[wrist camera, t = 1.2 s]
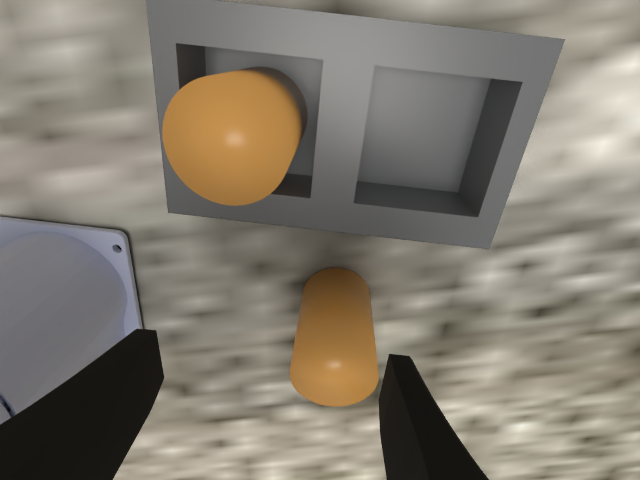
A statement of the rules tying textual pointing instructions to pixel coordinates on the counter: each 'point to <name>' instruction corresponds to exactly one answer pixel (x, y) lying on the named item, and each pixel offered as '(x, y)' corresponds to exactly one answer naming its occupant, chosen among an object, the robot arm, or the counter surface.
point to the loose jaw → (335, 340)
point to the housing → (343, 118)
